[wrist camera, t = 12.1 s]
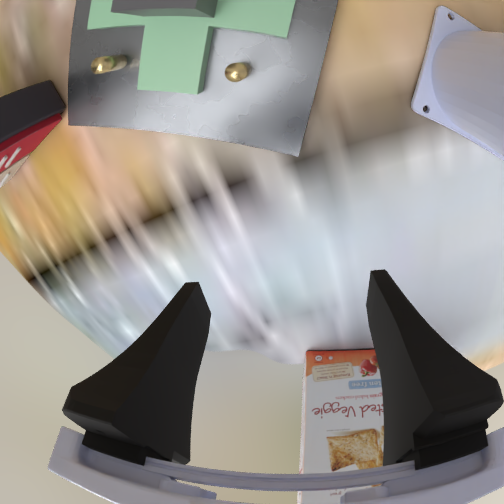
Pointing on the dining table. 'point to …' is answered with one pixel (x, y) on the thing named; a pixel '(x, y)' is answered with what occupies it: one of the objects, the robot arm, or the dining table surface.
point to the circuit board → (186, 33)
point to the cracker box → (340, 418)
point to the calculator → (26, 124)
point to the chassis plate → (205, 82)
